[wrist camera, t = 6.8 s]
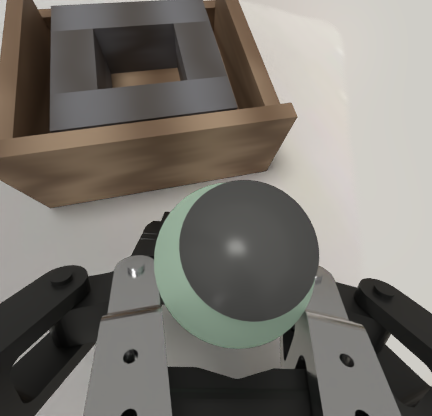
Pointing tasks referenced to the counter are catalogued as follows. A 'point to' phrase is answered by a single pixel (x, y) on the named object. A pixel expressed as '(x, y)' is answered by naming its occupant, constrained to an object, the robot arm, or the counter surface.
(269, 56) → the counter surface
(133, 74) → the box
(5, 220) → the counter surface
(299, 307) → the mint green cylinder
